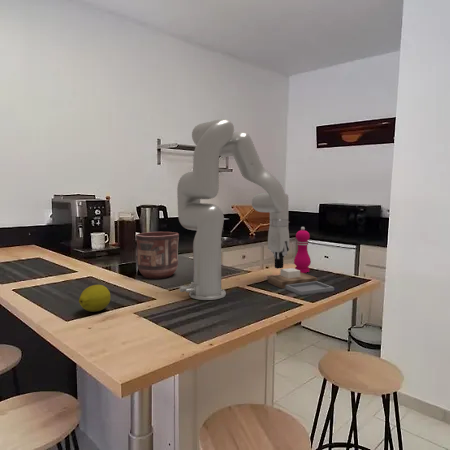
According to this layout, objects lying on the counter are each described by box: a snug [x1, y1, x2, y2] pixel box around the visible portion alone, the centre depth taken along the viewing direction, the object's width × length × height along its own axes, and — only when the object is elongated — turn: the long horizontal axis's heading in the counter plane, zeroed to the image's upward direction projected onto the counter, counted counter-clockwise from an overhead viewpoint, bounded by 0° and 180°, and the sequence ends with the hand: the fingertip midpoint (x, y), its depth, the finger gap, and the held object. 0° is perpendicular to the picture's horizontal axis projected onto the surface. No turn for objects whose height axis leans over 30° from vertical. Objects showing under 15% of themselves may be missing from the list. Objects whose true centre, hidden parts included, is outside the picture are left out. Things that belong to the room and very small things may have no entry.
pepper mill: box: [293, 226, 312, 274], centre depth 166 cm, size 7×7×20 cm
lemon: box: [78, 284, 112, 313], centre depth 113 cm, size 11×8×8 cm
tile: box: [279, 267, 300, 278], centre depth 147 cm, size 6×6×2 cm
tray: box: [284, 280, 335, 297], centre depth 136 cm, size 14×10×2 cm
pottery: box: [135, 231, 180, 280], centre depth 160 cm, size 18×18×18 cm
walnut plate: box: [267, 273, 318, 289], centre depth 146 cm, size 16×10×2 cm, turn 114°
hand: (278, 267), depth 155 cm, fingers closed
